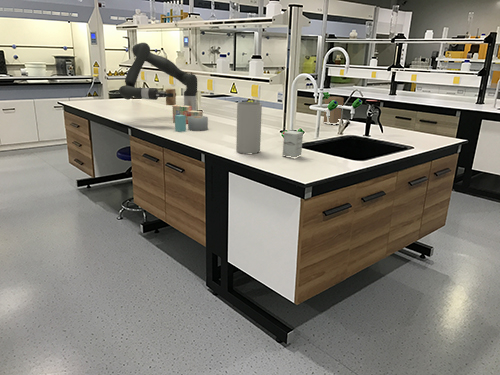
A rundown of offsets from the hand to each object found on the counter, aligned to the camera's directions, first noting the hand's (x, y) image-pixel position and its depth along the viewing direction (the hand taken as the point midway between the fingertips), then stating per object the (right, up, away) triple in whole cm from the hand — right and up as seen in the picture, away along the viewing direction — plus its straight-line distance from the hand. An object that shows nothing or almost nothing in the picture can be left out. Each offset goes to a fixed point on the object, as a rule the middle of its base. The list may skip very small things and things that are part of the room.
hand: (174, 94), depth 259 cm
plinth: (+15, -22, +5) cm, 27 cm away
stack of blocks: (+5, -15, +25) cm, 30 cm away
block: (+112, -13, +41) cm, 120 cm away
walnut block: (-3, -6, +2) cm, 7 cm away
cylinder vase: (+49, -42, -51) cm, 82 cm away
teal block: (+4, -24, -2) cm, 25 cm away
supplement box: (+71, -45, -58) cm, 102 cm away
